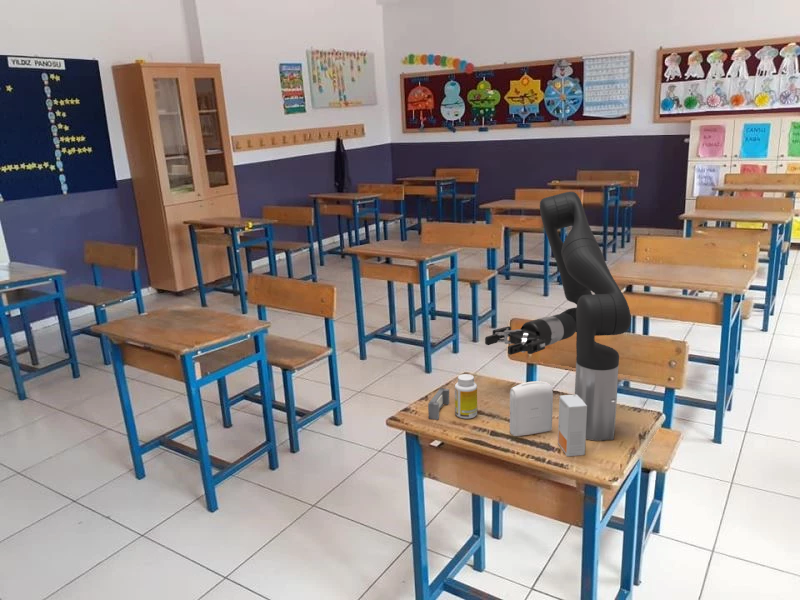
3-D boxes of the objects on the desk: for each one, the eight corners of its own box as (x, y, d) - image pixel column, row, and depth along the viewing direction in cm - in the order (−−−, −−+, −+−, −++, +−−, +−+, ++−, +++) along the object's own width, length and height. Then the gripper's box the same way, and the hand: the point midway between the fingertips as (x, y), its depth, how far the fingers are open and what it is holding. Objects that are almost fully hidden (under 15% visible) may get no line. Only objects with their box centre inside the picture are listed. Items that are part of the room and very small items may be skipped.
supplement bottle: (481, 414, 157) (481, 377, 155) (466, 421, 154) (465, 383, 151) (466, 407, 162) (465, 370, 159) (450, 414, 158) (449, 376, 155)
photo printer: (513, 438, 145) (514, 389, 142) (506, 430, 149) (507, 381, 146) (554, 432, 147) (556, 383, 144) (546, 424, 152) (548, 376, 148)
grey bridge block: (449, 403, 165) (449, 389, 163) (437, 419, 156) (437, 404, 154) (440, 402, 165) (440, 388, 164) (428, 418, 156) (428, 403, 155)
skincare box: (556, 443, 142) (558, 395, 139) (575, 442, 143) (577, 393, 139) (566, 457, 136) (568, 406, 133) (585, 455, 137) (588, 405, 134)
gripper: (523, 312, 173) (478, 324, 164) (563, 325, 161) (517, 339, 153) (523, 338, 175) (478, 351, 166) (562, 353, 163) (516, 368, 155)
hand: (497, 345), depth 159 cm, fingers open, 8 cm apart
